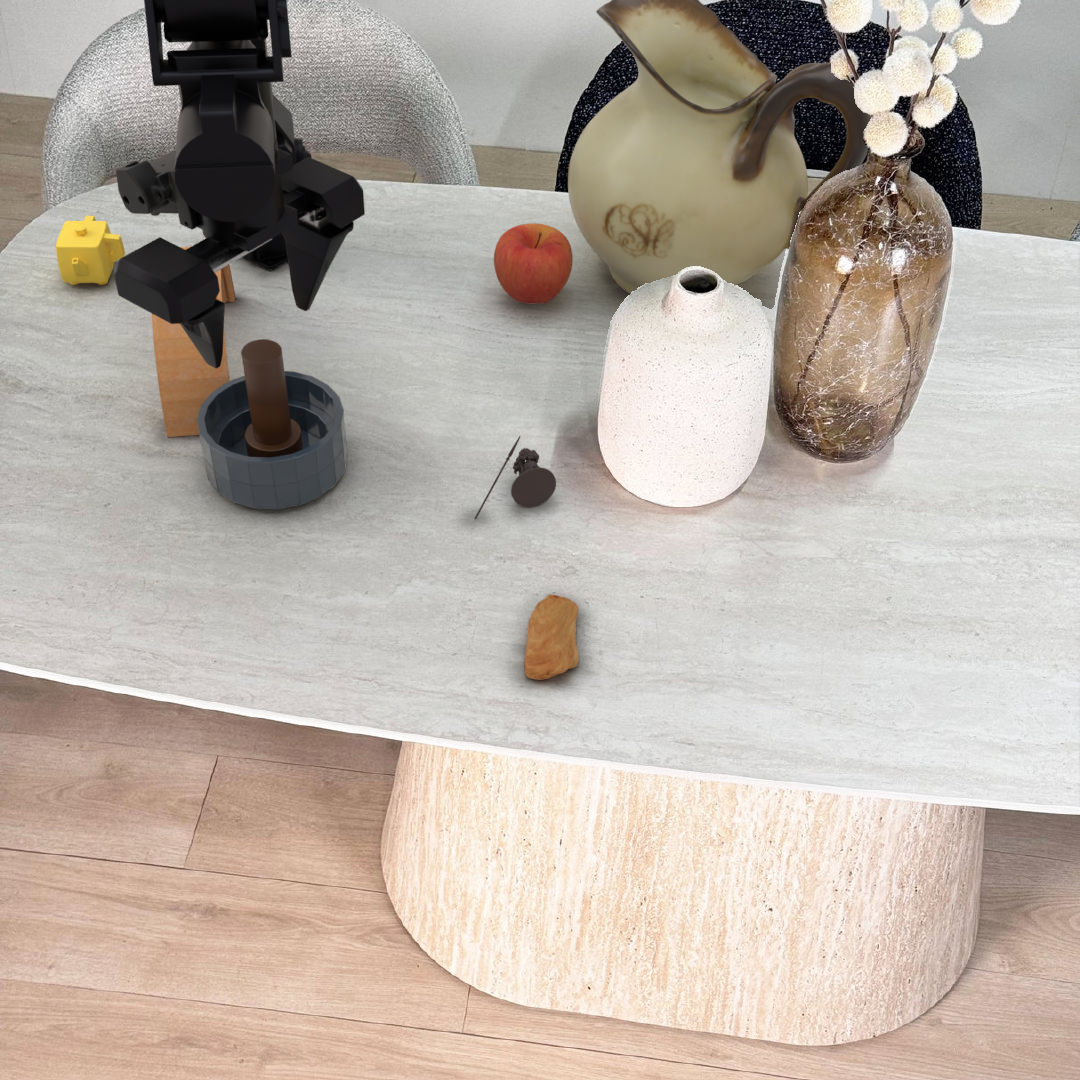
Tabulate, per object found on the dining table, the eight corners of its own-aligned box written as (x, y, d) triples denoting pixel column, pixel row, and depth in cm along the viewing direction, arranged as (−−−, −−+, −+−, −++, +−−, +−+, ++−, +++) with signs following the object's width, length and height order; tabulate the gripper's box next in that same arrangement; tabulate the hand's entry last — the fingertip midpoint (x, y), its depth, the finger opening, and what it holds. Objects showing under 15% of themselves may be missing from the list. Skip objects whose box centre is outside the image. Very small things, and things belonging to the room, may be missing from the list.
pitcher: (542, 216, 131) (558, -29, 113) (759, 206, 135) (808, -32, 117) (584, 348, 116) (611, 90, 98) (828, 333, 120) (896, 82, 102)
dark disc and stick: (519, 435, 96) (502, 408, 99) (473, 518, 99) (458, 489, 102) (577, 451, 99) (559, 423, 102) (531, 531, 102) (515, 502, 105)
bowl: (276, 405, 108) (269, 353, 104) (375, 459, 104) (372, 407, 100) (178, 474, 102) (166, 421, 98) (279, 535, 97) (271, 482, 93)
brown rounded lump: (494, 666, 89) (556, 701, 88) (498, 649, 88) (560, 684, 87) (546, 594, 94) (605, 626, 93) (550, 576, 92) (610, 609, 91)
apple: (549, 270, 124) (553, 197, 119) (582, 310, 120) (588, 236, 114) (480, 285, 122) (481, 212, 116) (512, 327, 117) (515, 252, 112)
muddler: (276, 436, 105) (261, 326, 97) (315, 458, 103) (303, 348, 95) (237, 463, 102) (218, 353, 94) (277, 487, 100) (261, 376, 92)
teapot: (120, 299, 118) (109, 251, 115) (57, 299, 118) (44, 251, 114) (135, 252, 124) (125, 205, 120) (75, 252, 123) (63, 205, 120)
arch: (237, 295, 119) (223, 200, 112) (236, 432, 106) (220, 334, 98) (174, 299, 119) (155, 203, 111) (164, 437, 105) (143, 338, 98)
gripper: (247, 57, 91) (270, 245, 102) (34, 154, 80) (86, 353, 91) (363, 104, 87) (374, 295, 98) (155, 213, 76) (194, 415, 87)
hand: (259, 336), depth 94 cm, fingers open, 9 cm apart
